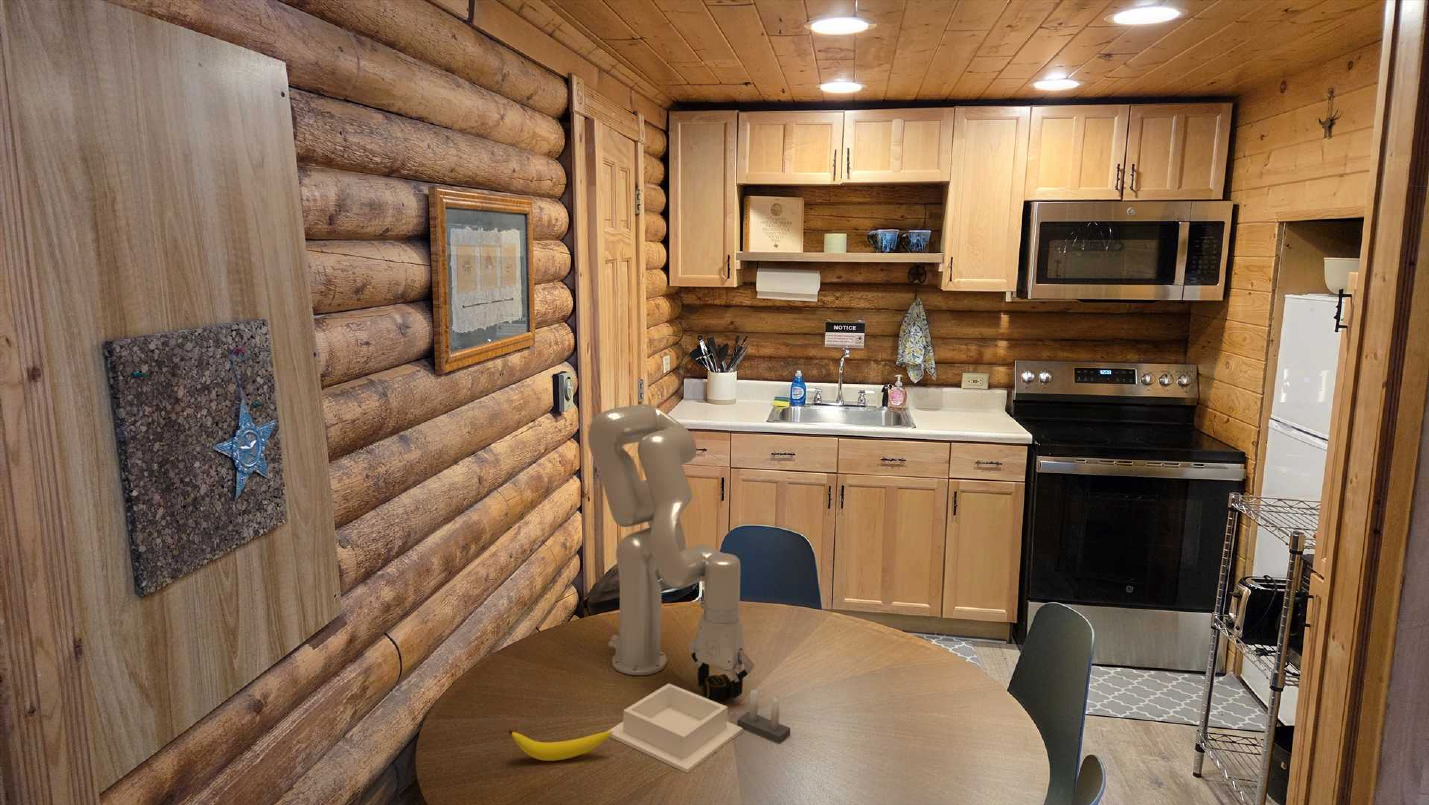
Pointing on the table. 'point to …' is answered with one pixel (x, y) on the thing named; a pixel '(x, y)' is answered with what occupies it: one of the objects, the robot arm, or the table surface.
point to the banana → (559, 746)
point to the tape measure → (717, 688)
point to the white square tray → (676, 727)
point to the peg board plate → (764, 721)
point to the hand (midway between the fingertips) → (719, 689)
